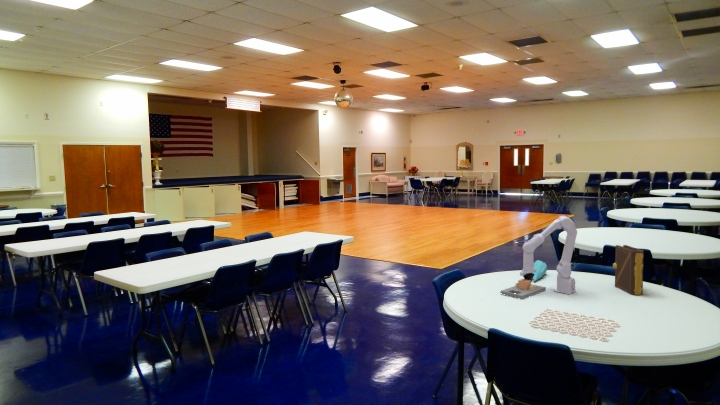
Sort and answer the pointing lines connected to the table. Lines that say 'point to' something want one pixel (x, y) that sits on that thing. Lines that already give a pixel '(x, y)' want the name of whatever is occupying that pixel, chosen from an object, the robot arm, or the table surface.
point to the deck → (523, 291)
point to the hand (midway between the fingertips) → (528, 285)
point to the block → (524, 284)
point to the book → (629, 269)
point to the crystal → (539, 269)
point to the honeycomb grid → (571, 328)
